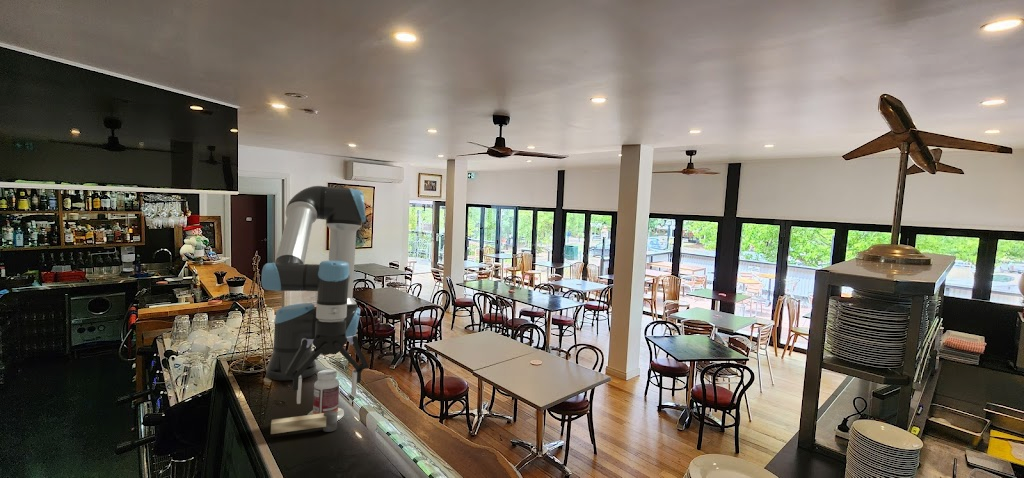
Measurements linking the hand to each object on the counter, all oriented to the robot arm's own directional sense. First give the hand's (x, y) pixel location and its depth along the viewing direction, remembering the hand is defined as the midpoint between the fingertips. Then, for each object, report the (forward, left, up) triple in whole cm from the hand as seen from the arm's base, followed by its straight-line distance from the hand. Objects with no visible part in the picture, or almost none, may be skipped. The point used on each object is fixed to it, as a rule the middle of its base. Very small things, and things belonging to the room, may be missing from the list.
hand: (326, 398), depth 115 cm
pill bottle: (0, 0, -4) cm, 4 cm away
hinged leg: (+8, -6, -5) cm, 11 cm away
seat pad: (0, 0, -5) cm, 5 cm away
